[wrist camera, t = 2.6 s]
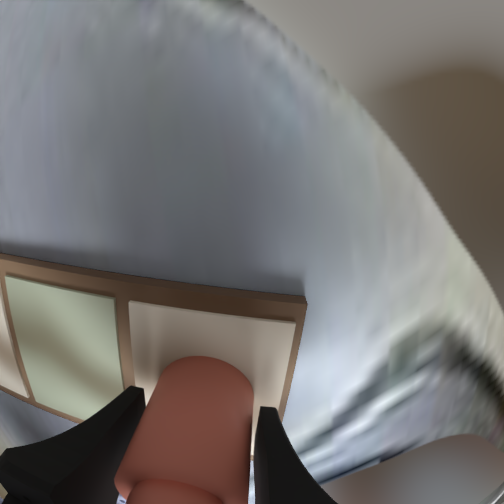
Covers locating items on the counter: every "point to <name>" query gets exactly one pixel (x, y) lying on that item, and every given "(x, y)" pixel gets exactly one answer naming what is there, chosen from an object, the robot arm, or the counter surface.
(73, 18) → the counter surface
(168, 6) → the counter surface
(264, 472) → the robot arm
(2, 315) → the board
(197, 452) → the pawn
